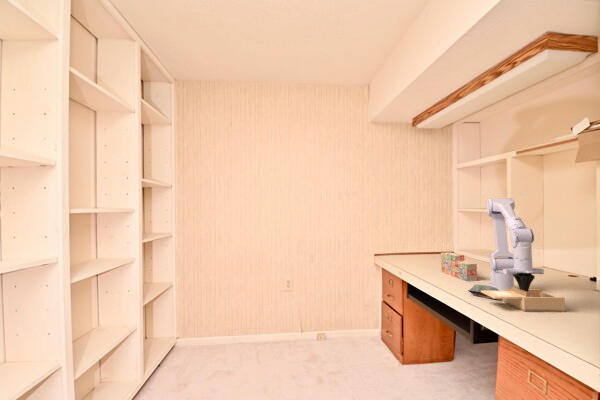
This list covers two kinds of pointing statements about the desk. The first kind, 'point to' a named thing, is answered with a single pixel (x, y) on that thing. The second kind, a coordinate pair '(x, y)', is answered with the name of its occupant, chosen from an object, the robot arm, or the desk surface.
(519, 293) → the lid
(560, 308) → the light brown rectangular box
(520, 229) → the robot arm
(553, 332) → the desk surface
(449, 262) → the stack of blocks
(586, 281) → the desk surface
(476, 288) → the packaged food
